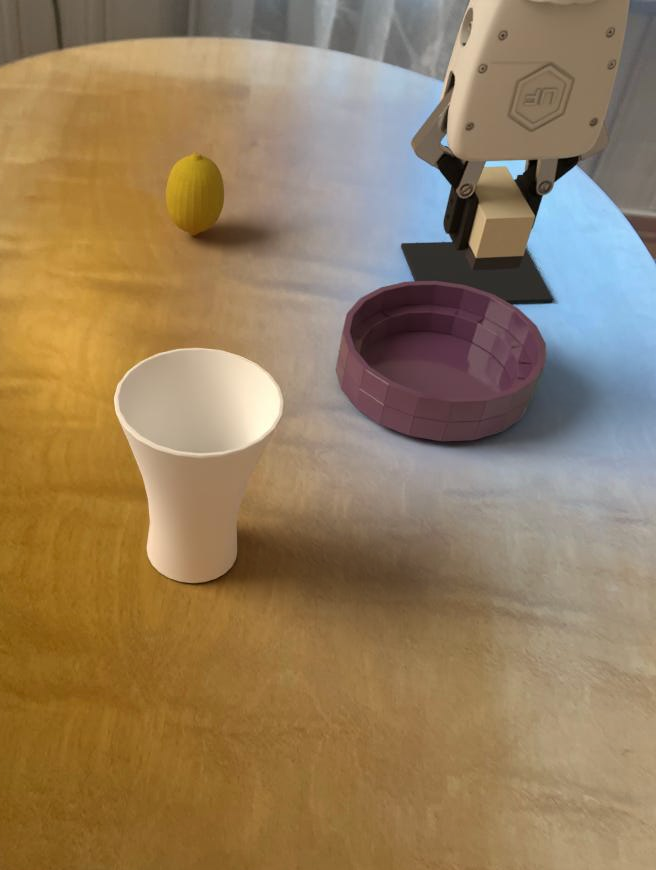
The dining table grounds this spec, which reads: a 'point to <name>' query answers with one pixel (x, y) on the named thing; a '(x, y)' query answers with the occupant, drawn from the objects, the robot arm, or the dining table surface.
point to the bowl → (439, 360)
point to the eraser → (499, 222)
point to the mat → (476, 273)
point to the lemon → (195, 194)
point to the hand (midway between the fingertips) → (484, 237)
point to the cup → (196, 451)
